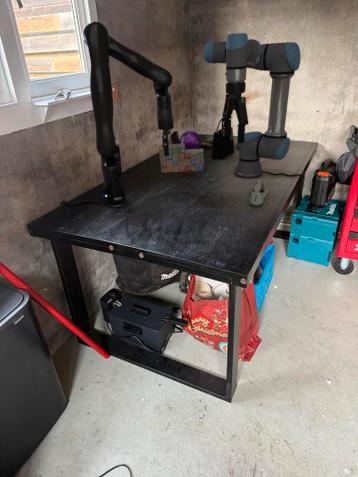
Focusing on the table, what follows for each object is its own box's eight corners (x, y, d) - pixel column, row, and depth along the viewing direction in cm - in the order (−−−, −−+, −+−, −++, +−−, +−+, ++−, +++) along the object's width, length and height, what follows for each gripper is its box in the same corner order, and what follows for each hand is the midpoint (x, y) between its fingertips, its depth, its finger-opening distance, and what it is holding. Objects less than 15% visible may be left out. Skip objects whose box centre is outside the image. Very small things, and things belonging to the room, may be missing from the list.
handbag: (222, 160, 214) (223, 120, 202) (210, 158, 219) (210, 119, 206) (235, 152, 229) (236, 114, 217) (223, 150, 234) (224, 113, 221)
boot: (189, 157, 225) (188, 126, 215) (182, 168, 205) (180, 135, 195) (176, 157, 227) (175, 126, 217) (168, 168, 206) (166, 135, 196)
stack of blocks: (204, 166, 166) (203, 142, 160) (204, 171, 161) (203, 145, 154) (162, 168, 168) (160, 144, 162) (160, 172, 163) (158, 147, 156)
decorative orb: (204, 151, 235) (204, 129, 228) (194, 156, 225) (193, 134, 217) (186, 149, 243) (186, 128, 235) (175, 154, 232) (174, 132, 224)
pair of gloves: (199, 150, 238) (199, 143, 235) (184, 143, 258) (184, 136, 255) (235, 144, 247) (235, 137, 245) (218, 137, 268) (218, 131, 265)
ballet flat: (269, 188, 169) (270, 173, 165) (265, 208, 149) (266, 191, 145) (252, 187, 171) (253, 172, 167) (246, 206, 151) (247, 190, 147)
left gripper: (159, 115, 159) (161, 150, 167) (155, 121, 147) (158, 158, 155) (174, 115, 158) (176, 149, 167) (171, 120, 146) (174, 157, 154)
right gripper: (214, 80, 133) (214, 133, 144) (240, 85, 112) (237, 147, 123) (232, 78, 135) (230, 131, 145) (260, 83, 114) (256, 145, 124)
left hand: (167, 153), depth 161 cm, fingers closed on stack of blocks, 6 cm apart
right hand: (233, 139), depth 134 cm, fingers open, 13 cm apart
